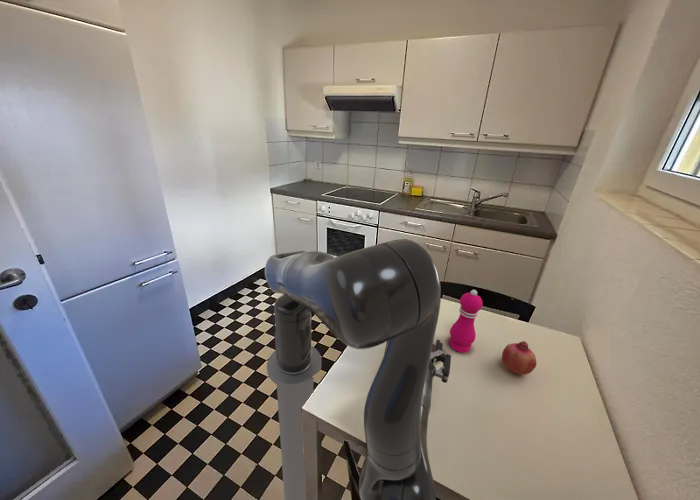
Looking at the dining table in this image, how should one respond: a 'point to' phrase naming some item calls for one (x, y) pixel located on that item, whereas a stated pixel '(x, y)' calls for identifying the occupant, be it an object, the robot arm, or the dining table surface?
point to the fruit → (519, 358)
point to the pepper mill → (465, 322)
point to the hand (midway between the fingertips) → (419, 337)
